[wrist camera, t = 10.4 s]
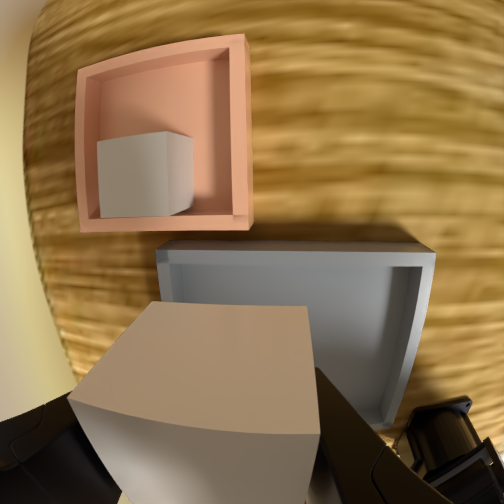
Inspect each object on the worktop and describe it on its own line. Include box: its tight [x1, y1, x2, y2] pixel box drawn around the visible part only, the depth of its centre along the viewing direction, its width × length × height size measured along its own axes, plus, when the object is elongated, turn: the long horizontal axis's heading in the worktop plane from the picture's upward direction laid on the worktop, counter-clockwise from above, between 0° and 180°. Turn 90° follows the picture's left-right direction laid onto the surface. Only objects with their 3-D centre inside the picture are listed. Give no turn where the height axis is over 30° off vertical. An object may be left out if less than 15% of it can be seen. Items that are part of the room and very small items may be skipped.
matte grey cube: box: [97, 131, 195, 218], centre depth 16 cm, size 4×4×4 cm
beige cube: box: [67, 301, 320, 504], centre depth 6 cm, size 4×4×4 cm
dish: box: [75, 34, 254, 232], centre depth 16 cm, size 11×11×2 cm
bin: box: [155, 240, 436, 430], centre depth 19 cm, size 16×14×2 cm
